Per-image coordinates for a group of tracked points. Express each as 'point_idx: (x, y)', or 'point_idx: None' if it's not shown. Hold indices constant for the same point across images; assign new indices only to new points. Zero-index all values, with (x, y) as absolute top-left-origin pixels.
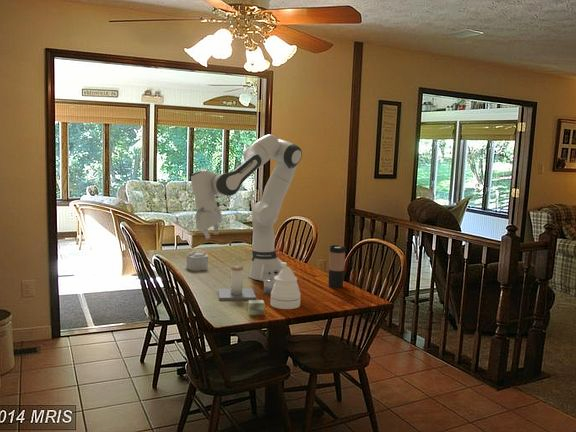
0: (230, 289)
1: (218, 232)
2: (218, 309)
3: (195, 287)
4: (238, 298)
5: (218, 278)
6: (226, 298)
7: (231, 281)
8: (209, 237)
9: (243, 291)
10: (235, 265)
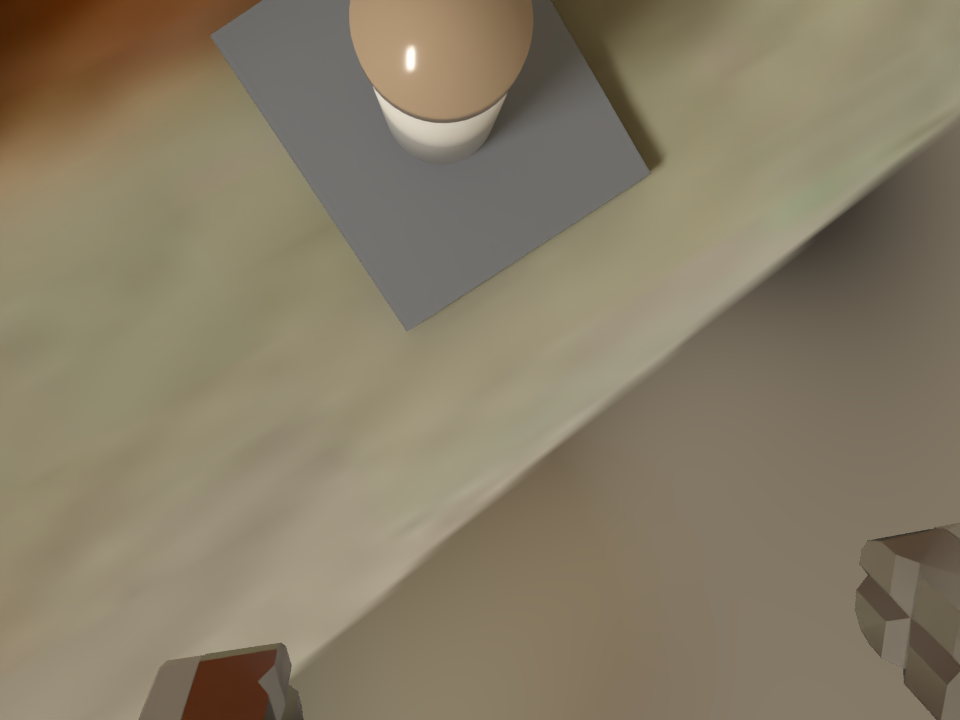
0: (365, 215)
1: (176, 675)
2: (860, 57)
3: (405, 561)
4: (558, 20)
5: (18, 552)
6: (616, 118)
7: (495, 117)
8: (948, 530)
9: (359, 67)
10: (390, 76)
